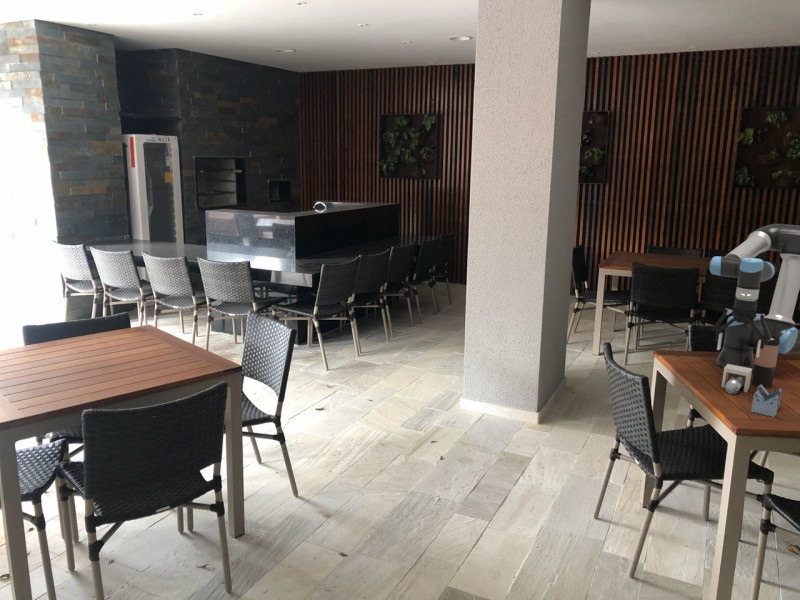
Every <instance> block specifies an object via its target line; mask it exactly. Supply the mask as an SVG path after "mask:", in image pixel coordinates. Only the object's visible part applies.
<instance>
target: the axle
mask: <svg viewBox="0 0 800 600" xmlns="http://www.w3.org/2000/svg"><path fill="white" fill-rule="evenodd" d="M743 385H744V379H743V377H741V375H738V374H734V375H731V376H730V377H729V378H728V382H727V383H726V385H725V387H724V390H725V392H726V393H727V394H731V395H735V394H738V393H739V391H740V389H741V388H742V386H743Z"/></svg>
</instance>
